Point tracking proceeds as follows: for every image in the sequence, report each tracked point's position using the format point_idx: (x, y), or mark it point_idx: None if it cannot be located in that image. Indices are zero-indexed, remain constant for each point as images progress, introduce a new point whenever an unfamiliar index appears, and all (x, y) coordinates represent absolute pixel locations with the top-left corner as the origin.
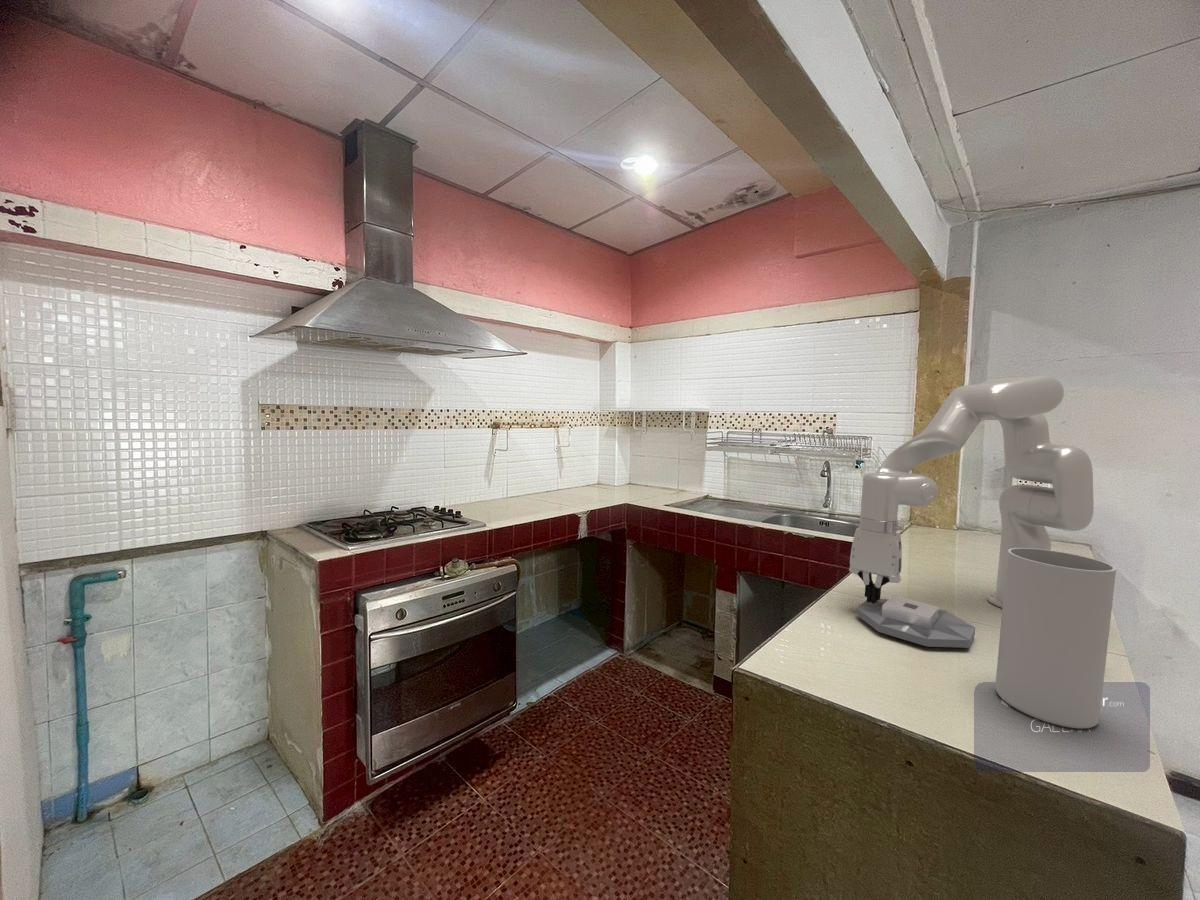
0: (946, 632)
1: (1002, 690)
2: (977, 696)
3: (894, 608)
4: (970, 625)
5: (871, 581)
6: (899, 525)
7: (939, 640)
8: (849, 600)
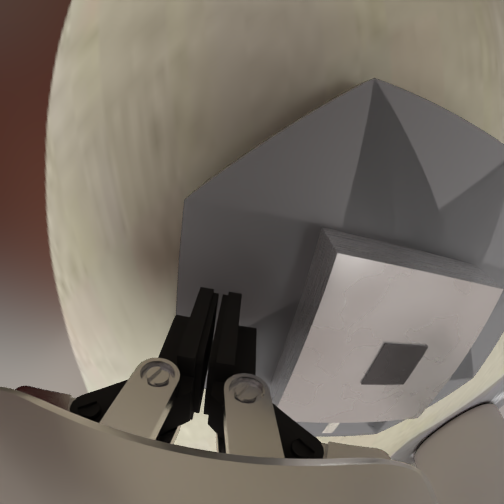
0: None
1: (416, 465)
2: None
3: (317, 421)
4: None
5: (183, 409)
6: None
7: None
8: (112, 123)
